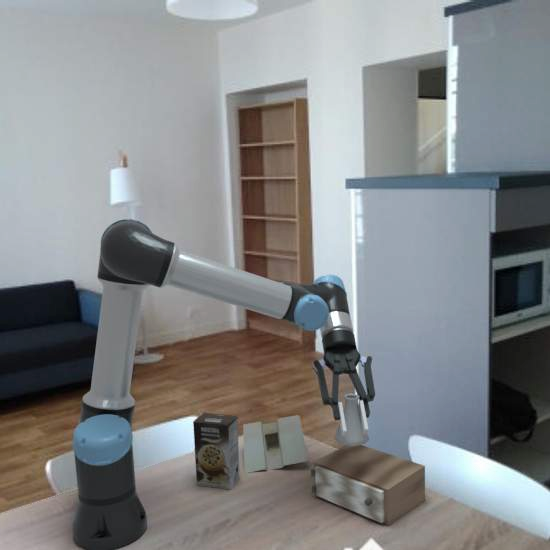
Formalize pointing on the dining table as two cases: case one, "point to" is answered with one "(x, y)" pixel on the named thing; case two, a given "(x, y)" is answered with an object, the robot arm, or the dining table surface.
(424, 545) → the dining table surface
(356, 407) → the flask
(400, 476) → the cabinet
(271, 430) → the grooved block with hole
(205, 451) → the coffee box
